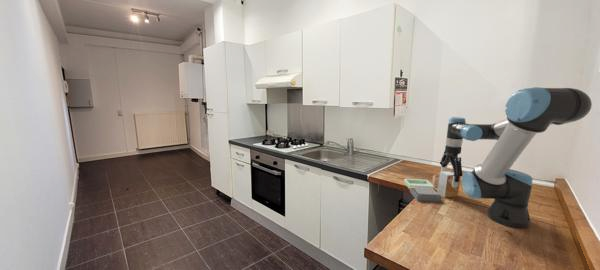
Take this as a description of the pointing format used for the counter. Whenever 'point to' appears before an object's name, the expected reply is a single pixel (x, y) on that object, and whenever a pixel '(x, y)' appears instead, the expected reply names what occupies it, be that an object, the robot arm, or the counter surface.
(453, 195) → the small box
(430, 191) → the grey flat square panel
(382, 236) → the counter surface
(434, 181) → the cup
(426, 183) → the mint green tray
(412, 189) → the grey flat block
